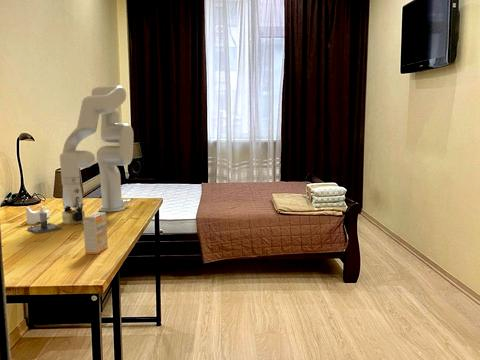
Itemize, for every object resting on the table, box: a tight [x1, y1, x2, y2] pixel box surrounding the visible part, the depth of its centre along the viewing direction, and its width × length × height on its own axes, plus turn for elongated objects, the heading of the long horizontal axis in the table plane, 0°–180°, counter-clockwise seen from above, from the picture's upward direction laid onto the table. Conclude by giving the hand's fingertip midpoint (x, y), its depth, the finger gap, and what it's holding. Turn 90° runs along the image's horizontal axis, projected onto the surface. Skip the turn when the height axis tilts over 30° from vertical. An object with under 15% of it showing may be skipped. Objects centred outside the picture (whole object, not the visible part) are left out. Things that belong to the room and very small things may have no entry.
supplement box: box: [82, 211, 109, 255], centre depth 168 cm, size 8×5×13 cm, turn 170°
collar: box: [61, 209, 86, 226], centre depth 213 cm, size 7×7×5 cm
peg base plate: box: [27, 212, 62, 235], centre depth 202 cm, size 10×10×7 cm
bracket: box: [25, 205, 51, 225], centre depth 219 cm, size 13×7×8 cm, turn 11°
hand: (73, 219), depth 213 cm, fingers open, 9 cm apart
